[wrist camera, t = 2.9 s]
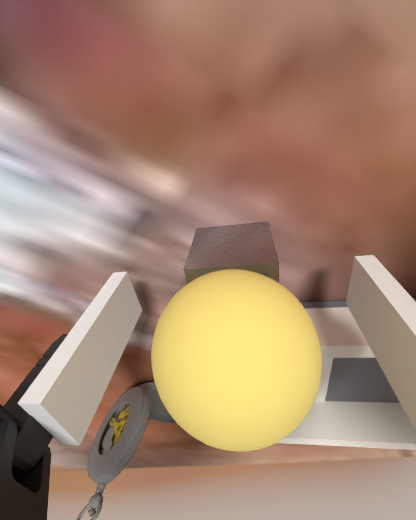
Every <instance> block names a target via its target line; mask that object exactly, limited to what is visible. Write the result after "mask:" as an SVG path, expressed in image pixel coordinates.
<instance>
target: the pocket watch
mask: <svg viewBox="0 0 416 520" xmlns="http://www.w3.org/2000/svg"><path fill="white" fill-rule="evenodd" d="M128 411H129V412H128ZM126 415H127V416H126ZM125 416H126V419H125V421H123V419H122V418H124V417H125ZM148 418H149V419H151V420H155V421H158V422H163V423H177V422H176V421H175V420H174V419H173V418H172V416H171V415H170V414H169V412H168V411H167V409H166V408H165V406H164V404H163V402H162V400H161V398H160V396H159V393H158V391H157V388H156V385H155V382H148V383H144V384H142V385H139V386H138V387H132V388H130V389H129V390H127V391H126V392H125V393H124V394H123V395H122V396H121V397H120V398H119V399H118V400H117V401H116V403H115V404H114V405H113V407H112V408H111V409H110V411H109V412H108V414H107V416H106V417H105V419H104V421H103V423H102V425H101V426H100V428H99V430H98V433H97V435H96V437H95V440H94V442H93V445H92V448H91V451H90V455H89V460H88V475H89V477H90V478H91V479H92V480H93V481H94V482H95V483H97V484H98V486H97V489H96V494H95V495H93V496H92V497H91V499H90V501H89V504H88V505H87V506H86V507H85V508H84V509H83V510H82V511H81V513H80V514H79V516H78V518H77V520H80V518H81V516H82V515H83V514H84V512H85V511H86V510H87V509H88V508H89V507H91V508H92V509H90V510H89V511H88V513H89V515H90V516H93V515H94V514H95V515H94V516H93V518H92V519H91V520H95V519H96V518H97V516H98V515H99V513H100V511H101V508H102V502H103V497H102V493H103V490H104V488H105V486H106V484H107V483H109V482H110V481H112V480H113V479H114V478H115V477H116V476H117V475H118V474H119V473H120V472H121V471H122V470H123V469H124V467H125V466H126V465H127V463H128V462H129V461H130V459H131V458H132V456H133V454H134V452H135V450H136V449H137V447H138V445H139V443H140V441H141V438H142V436H143V433H144V431H145V428H146V426H147V422H148ZM121 419H122V422H121V423H119V422H120V420H121ZM121 425H122V426H121ZM120 426H121V427H120ZM118 427H120V428H118ZM118 429H120V430H118ZM96 508H98V509H97V512H96V511H95V509H96Z"/></svg>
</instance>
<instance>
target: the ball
mask: <svg viewBox="0 0 416 520" xmlns="http://www.w3.org/2000/svg"><path fill="white" fill-rule="evenodd" d="M151 363H152V372H153V377H154V382H155V385H156V388H157V391H158V393H159V396H160V398H161V400H162V402H163V404H164V406H165V408H166V409H167V411H168V412H169V414H170V415H171V416H172V418H173V419H174V420H175V421H176V422H177V424H178V425H179V426H180V427H182V428H183V429H184V430H185V431H186V432H187V433H188V434H190V435H191V436H192V437H194V438H196V439H197V440H199V441H201V442H203V443H205V444H207V445H209V446H212V447H215V448H218V449H222V450H228V451H240V452H242V451H254V450H258V449H262V448H265V447H268V446H270V445H273V444H275V443H277V442H279V441H280V440H282V439H283V438H285V437H286V436H288V435H289V434H290V433H292V432H293V431H294V430H295V429H296V428H297V427H298V426H299V425H300V424H301V422H302V421H303V420H304V419H305V417H306V416H307V414H308V413H309V411H310V409H311V407H312V405H313V403H314V401H315V399H316V396H317V393H318V389H319V385H320V381H321V372H322V355H321V347H320V342H319V338H318V334H317V332H316V329H315V327H314V324H313V322H312V320H311V318H310V316H309V314H308V313H307V311H306V310H305V308H304V307H303V305H302V304H301V303H300V302H299V300H298V299H297V298H296V297H295V296H294V295H293V294H292V293H291V292H290V291H289V290H288V289H286V288H285V287H284V286H282V285H281V284H279V283H278V282H276V281H274V280H273V279H271V278H269V277H267V276H265V275H262V274H259V273H256V272H251V271H247V270H238V269H228V270H220V271H215V272H211V273H208V274H205V275H202V276H200V277H198V278H196V279H194V280H193V281H191V282H190V283H188V284H187V285H185V286H184V287H183V288H182V289H181V290H179V291H178V292H177V293H176V294H175V295H174V296H173V297H172V299H171V300H170V301H169V303H168V304H167V306H166V307H165V308H164V310H163V312H162V314H161V316H160V318H159V320H158V323H157V326H156V329H155V333H154V336H153V341H152V351H151Z"/></svg>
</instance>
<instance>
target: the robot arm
mask: <svg viewBox="0 0 416 520" xmlns="http://www.w3.org/2000/svg"><path fill="white" fill-rule="evenodd" d="M346 304H347V306H348V308H349V310H350V312H351V314H352V315H353V317H354V319H355V321H356V323H357V325H358V326H359V328H360V330H361V332H362V334H363V336H364V337H365V339H366V341H367V343H368V345H369V347H370V348H371V350H372V352H373V354H374V356H375V358H376V359H377V361H378V363H379V365H380V367H381V369H382V370H383V372H384V374H385V376H386V378H387V380H388V382H389V383H390V385H391V387H392V389H393V391H394V393H395V394H396V396H397V398H398V400H399V402H400V404H401V405H402V407H403V409H404V411H405V413H406V415H407V416H408V418H409V420H410V422H411V424H412V426H413V427H414V429H415V431H416V302H415V300H414V299H413V298H412V297H411V296H410V295H409V294H408V293H407V292H406V290H405V289H404V288H403V287H402V286H401V285H400V284H399V283H398V282H397V280H396V279H395V278H394V277H393V276H392V275H391V274H390V273H389V272H388V271H387V269H386V268H385V267H384V266H383V265H382V264H381V263H380V262H379V261H378V259H377V258H376V257H375V256H374V255H366V256H355V257H354V262H353V267H352V272H351V277H350V283H349V288H348V293H347V298H346ZM141 312H142V308H141V306H140V303H139V301H138V298H137V296H136V293H135V291H134V288H133V286H132V283H131V281H130V278H129V276H128V273H127V272H117V273H113V274H112V275H111V277H110V278H109V279H108V281H107V282H106V283H105V285H104V286H103V288H102V289H101V290H100V292H99V293H98V294H97V296H96V297H95V298H94V300H93V301H92V303H91V304H90V305H89V307H88V308H87V309H86V311H85V312H84V313H83V315H82V316H81V318H80V319H79V320H78V322H77V323H76V324H75V326H74V327H73V328H72V330H71V331H70V332H69V334H63V335H62V336H61V337H59V338H58V339H57V340H56V341H55V342H54V343H52V344H51V346H50V347H49V348H48V349H47V351H46V352H45V353H44V355H43V358H41V359H40V360H39V361H38V362H37V364H36V367H34V368H33V369H32V370H31V371H30V373H29V374H28V375H27V377H26V378H25V379H24V381H23V382H22V383H21V384H20V386H19V387H18V388H17V390H16V391H15V392H14V393H13V395H12V396H11V397H10V399H9V400H8V401H7V403H6V404H5V405H4V406H2V405H1V404H0V520H47V508H48V493H49V477H50V463H51V451H50V448H49V447H48V445H49V443H50V441H51V439H52V437H54V438H55V439H56V440H57V441H58V442H59V443H60V444H61V445H78V446H80V445H81V443H82V441H83V438H84V436H85V434H86V432H87V430H88V428H89V425H90V423H91V421H92V419H93V417H94V414H95V412H96V410H97V408H98V406H99V404H100V401H101V399H102V397H103V395H104V393H105V391H106V388H107V386H108V384H109V382H110V380H111V378H112V375H113V373H114V371H115V369H116V367H117V365H118V362H119V360H120V358H121V356H122V354H123V351H124V349H125V347H126V345H127V343H128V341H129V338H130V336H131V334H132V332H133V330H134V328H135V325H136V323H137V321H138V319H139V317H140V315H141Z"/></svg>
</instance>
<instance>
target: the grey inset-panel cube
mask: <svg viewBox="0 0 416 520" xmlns="http://www.w3.org/2000/svg"><path fill="white" fill-rule="evenodd" d="M228 269H238V270H247V271H251V272H256V273H259V274H262V275H265V276H267V277H269V278H271V279H273V280H274V281H276V282H278V283H279V261H278V258H277V254H276V250H275V246H274V242H273V239H272V235H271V231H270V227H269V223H268V222H263V223H252V224H242V225H231V226H221V227H210V228H200V229H197V230H196V233H195V236H194V239H193V243H192V246H191V249H190V252H189V255H188V258H187V261H186V264H185V267H184V272H185V276H186V280H187V284H188V283H190V282H191V281H193V280H194V279H196V278H198V277H200V276H202V275H205V274H208V273H211V272H215V271H220V270H228Z"/></svg>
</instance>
